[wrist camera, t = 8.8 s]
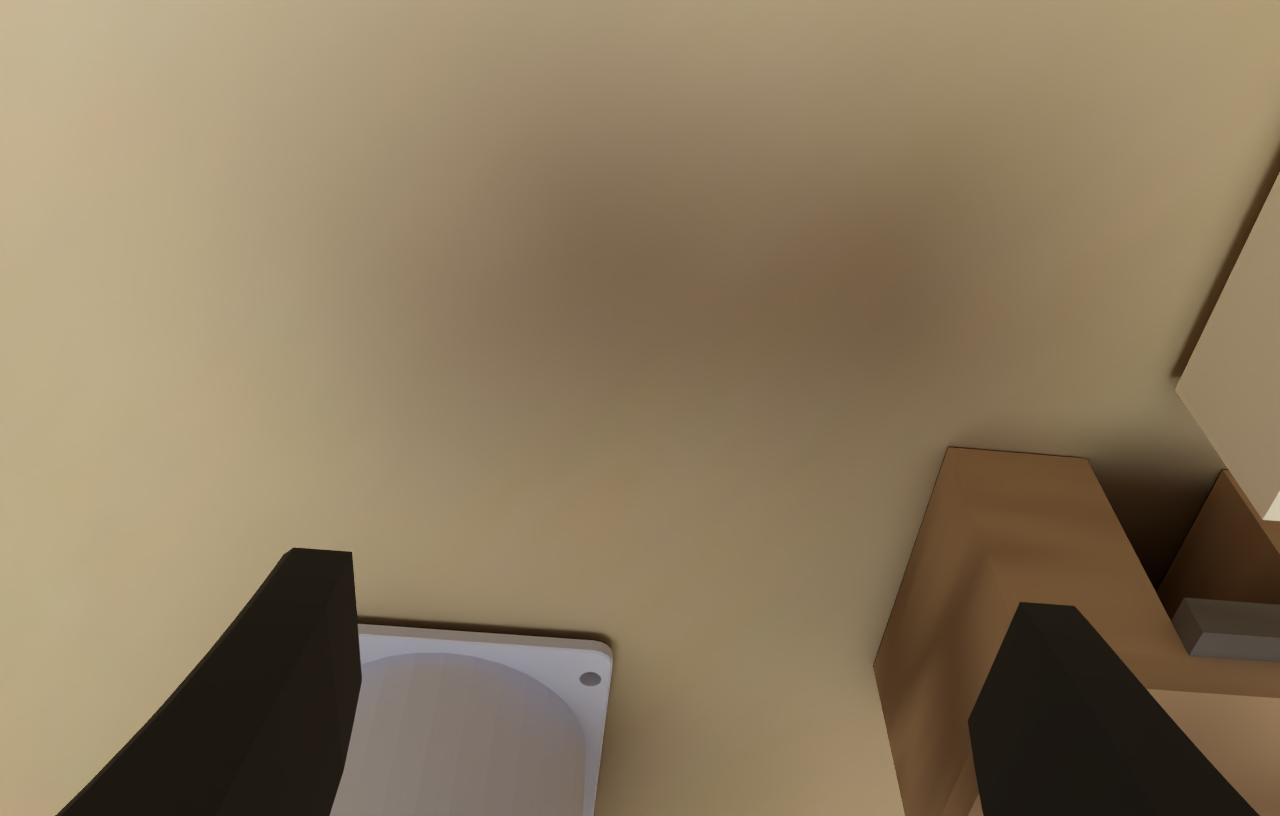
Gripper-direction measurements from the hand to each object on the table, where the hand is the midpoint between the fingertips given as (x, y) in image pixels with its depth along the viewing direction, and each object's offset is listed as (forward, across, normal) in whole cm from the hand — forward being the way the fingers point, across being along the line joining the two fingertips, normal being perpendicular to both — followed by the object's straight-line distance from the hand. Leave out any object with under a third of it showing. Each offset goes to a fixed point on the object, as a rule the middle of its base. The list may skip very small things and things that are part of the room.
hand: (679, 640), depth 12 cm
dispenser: (+10, -11, +8) cm, 17 cm away
